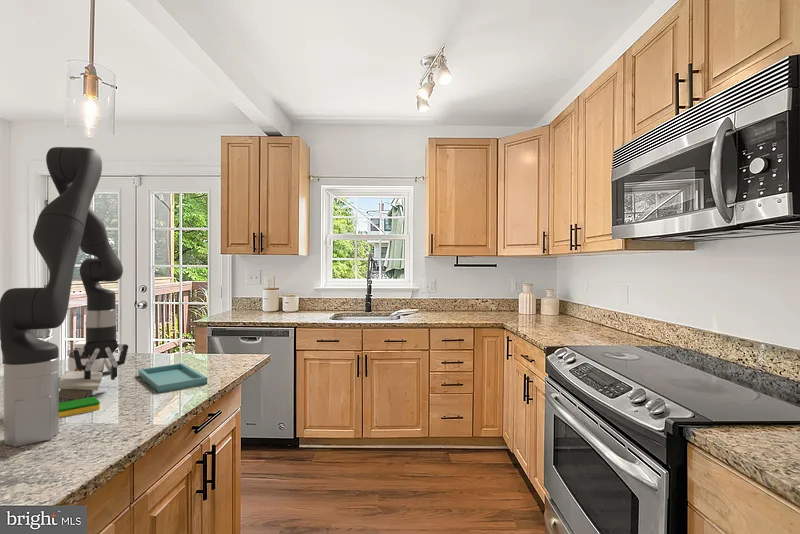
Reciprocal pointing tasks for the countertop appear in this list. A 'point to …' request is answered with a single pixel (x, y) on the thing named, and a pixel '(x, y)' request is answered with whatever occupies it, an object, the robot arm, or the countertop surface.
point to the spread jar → (96, 366)
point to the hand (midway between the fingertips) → (101, 380)
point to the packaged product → (78, 384)
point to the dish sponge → (78, 406)
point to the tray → (172, 377)
